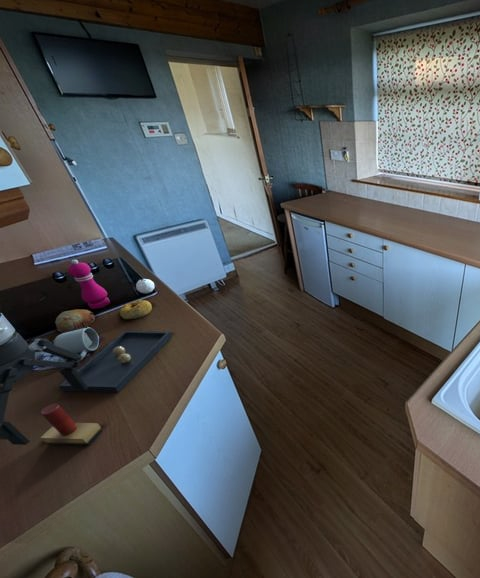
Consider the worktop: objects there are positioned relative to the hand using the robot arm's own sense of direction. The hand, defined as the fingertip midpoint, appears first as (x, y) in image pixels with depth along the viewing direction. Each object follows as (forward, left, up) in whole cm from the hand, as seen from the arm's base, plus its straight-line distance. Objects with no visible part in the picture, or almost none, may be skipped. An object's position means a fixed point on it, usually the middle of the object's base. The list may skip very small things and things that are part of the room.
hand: (54, 413), depth 66 cm
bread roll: (-38, +42, -10) cm, 58 cm away
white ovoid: (-28, +65, -6) cm, 71 cm away
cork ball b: (-6, +24, -7) cm, 26 cm away
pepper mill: (-41, +55, -10) cm, 69 cm away
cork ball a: (-10, +27, -7) cm, 30 cm away
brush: (0, 0, -9) cm, 9 cm away
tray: (-8, +25, -9) cm, 28 cm away
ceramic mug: (-24, +28, -10) cm, 38 cm away
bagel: (-22, +50, -10) cm, 56 cm away
